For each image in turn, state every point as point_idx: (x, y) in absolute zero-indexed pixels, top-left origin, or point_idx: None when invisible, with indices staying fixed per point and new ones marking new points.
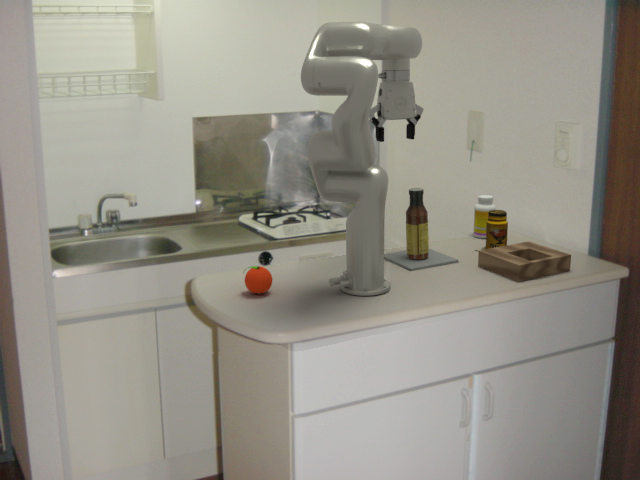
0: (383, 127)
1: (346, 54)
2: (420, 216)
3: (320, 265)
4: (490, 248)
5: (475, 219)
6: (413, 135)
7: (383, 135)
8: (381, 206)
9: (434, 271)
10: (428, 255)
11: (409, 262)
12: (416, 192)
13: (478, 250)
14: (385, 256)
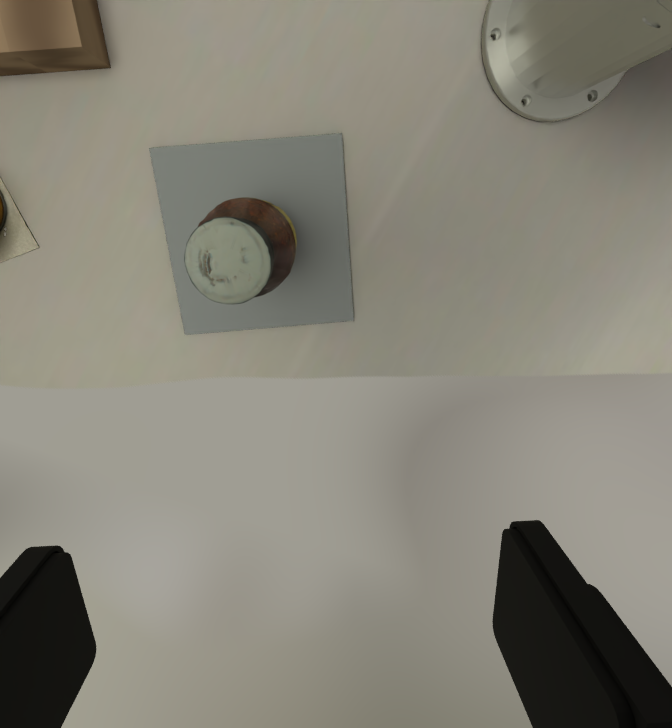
0: (652, 716)
1: None
2: (251, 199)
3: (541, 319)
4: (22, 50)
5: None
6: (13, 580)
7: (558, 580)
8: None
9: (274, 92)
10: None
11: (311, 202)
12: (246, 222)
13: (28, 235)
14: (346, 297)
